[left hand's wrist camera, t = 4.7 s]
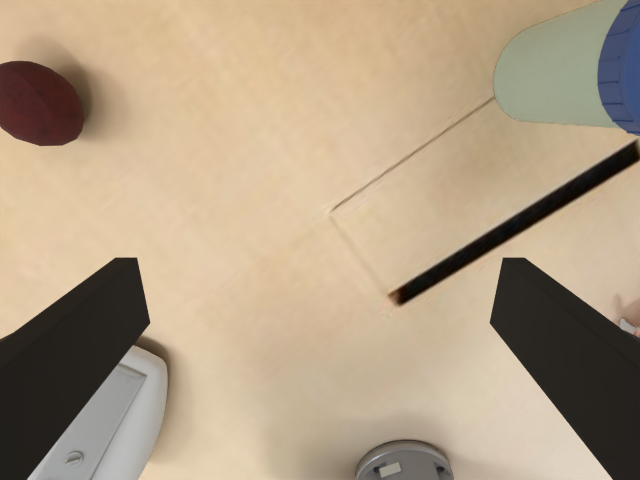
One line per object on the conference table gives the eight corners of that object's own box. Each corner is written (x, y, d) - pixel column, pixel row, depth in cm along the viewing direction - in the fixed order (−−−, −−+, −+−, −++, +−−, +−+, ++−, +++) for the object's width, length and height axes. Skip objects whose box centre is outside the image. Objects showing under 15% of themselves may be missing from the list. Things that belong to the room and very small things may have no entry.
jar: (548, 135, 38) (711, 155, 22) (476, 100, 36) (593, 95, 21) (604, 47, 35) (837, -3, 19) (526, 5, 33) (708, -84, 18)
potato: (58, 50, 35) (-4, 36, 28) (115, 118, 37) (70, 121, 30) (9, 94, 36) (-60, 91, 29) (67, 158, 38) (14, 168, 32)
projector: (217, 441, 54) (182, 555, 40) (86, 472, 56) (11, 590, 42) (150, 325, 46) (79, 417, 32) (2, 366, 49) (-122, 468, 35)
